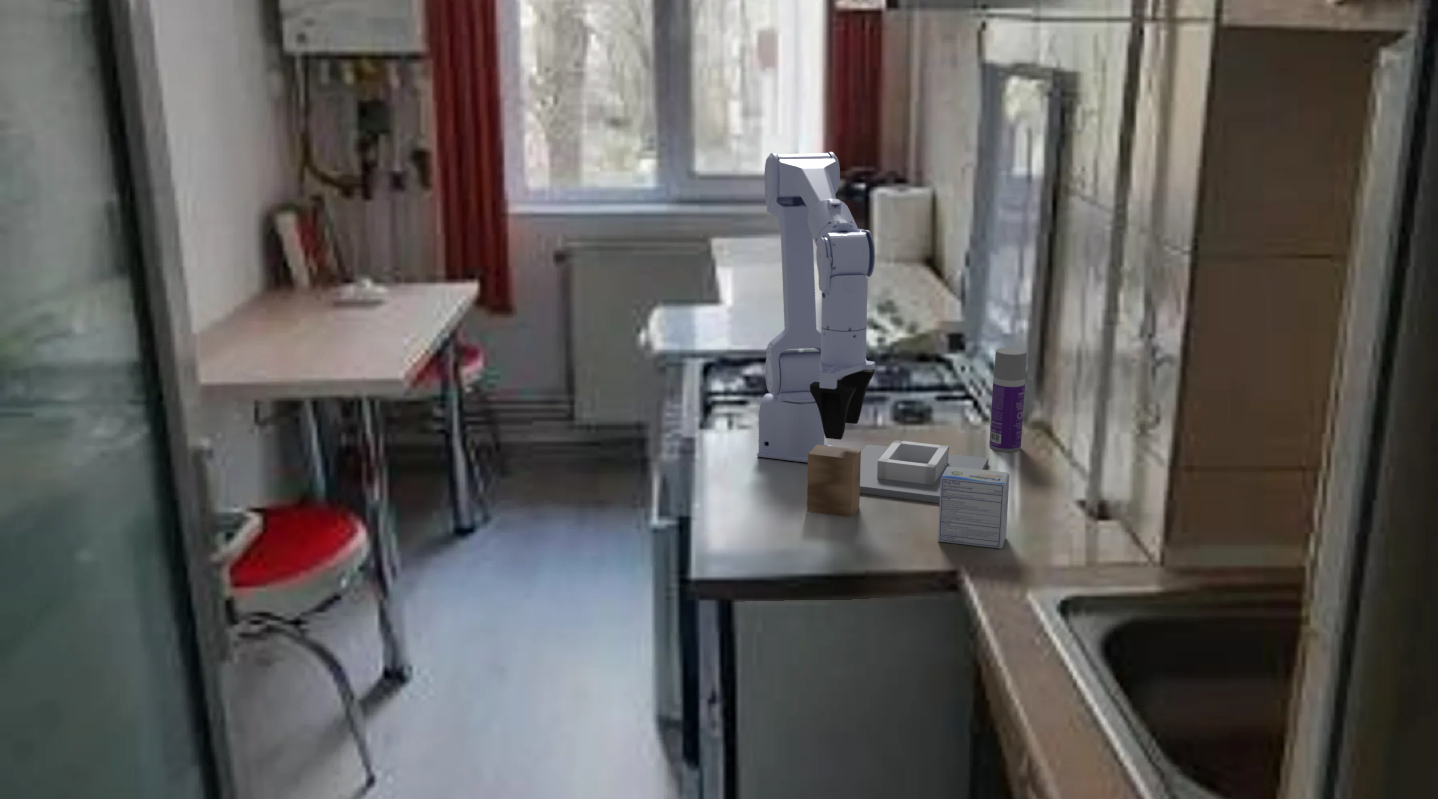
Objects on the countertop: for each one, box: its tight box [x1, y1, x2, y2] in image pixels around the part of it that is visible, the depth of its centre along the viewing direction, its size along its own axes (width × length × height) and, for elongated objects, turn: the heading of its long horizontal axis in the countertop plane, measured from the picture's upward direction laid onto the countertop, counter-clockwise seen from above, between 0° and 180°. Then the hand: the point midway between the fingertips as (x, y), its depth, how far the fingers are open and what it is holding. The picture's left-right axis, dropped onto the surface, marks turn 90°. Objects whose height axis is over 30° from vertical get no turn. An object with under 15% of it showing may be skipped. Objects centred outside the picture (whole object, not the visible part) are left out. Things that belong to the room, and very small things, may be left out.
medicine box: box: [937, 466, 1011, 550], centre depth 156 cm, size 8×4×9 cm, turn 71°
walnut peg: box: [806, 445, 862, 518], centre depth 166 cm, size 6×4×8 cm, turn 69°
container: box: [988, 346, 1027, 453], centre depth 190 cm, size 5×5×15 cm
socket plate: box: [860, 439, 989, 504], centre depth 179 cm, size 18×18×4 cm
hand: (842, 430), depth 164 cm, fingers open, 7 cm apart
